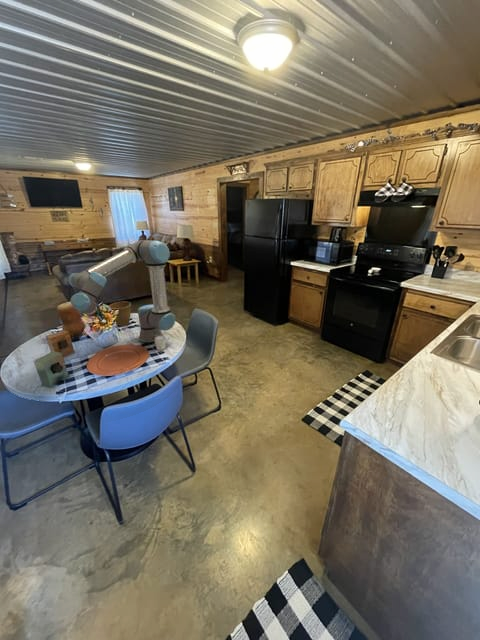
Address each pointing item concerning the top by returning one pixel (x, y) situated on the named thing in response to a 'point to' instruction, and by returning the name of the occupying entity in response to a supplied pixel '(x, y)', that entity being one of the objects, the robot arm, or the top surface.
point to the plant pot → (122, 312)
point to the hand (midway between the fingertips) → (102, 316)
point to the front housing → (45, 370)
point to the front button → (57, 368)
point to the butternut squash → (70, 319)
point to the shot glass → (160, 342)
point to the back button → (63, 344)
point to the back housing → (56, 338)
